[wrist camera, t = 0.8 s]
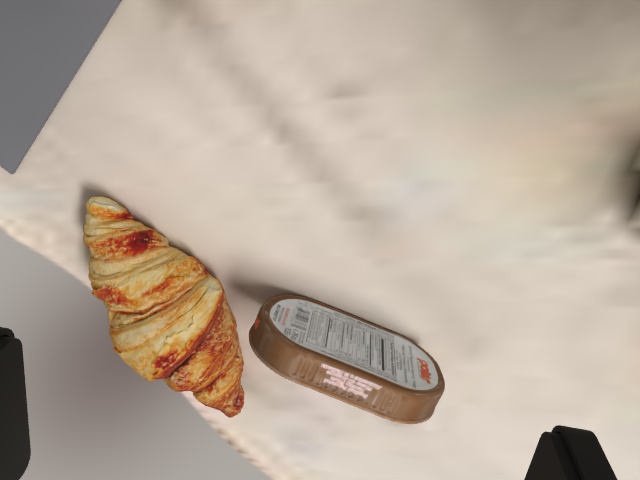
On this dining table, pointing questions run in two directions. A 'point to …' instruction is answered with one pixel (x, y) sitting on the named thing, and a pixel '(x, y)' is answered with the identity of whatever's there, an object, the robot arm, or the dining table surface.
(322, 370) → the tin
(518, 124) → the dining table surface
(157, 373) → the croissant
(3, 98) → the mat
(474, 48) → the dining table surface
